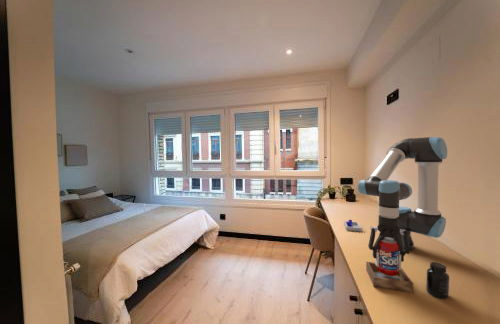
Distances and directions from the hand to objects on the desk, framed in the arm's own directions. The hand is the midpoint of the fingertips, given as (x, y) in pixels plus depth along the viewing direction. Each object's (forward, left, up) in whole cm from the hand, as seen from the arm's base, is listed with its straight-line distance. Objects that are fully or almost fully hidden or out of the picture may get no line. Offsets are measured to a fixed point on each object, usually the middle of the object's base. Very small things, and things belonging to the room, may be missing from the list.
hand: (387, 266), depth 95 cm
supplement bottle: (-16, +5, -6) cm, 18 cm away
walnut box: (0, 0, -6) cm, 6 cm away
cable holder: (+5, -69, -6) cm, 70 cm away
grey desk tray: (+4, -68, -6) cm, 68 cm away
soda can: (0, 0, -3) cm, 3 cm away
